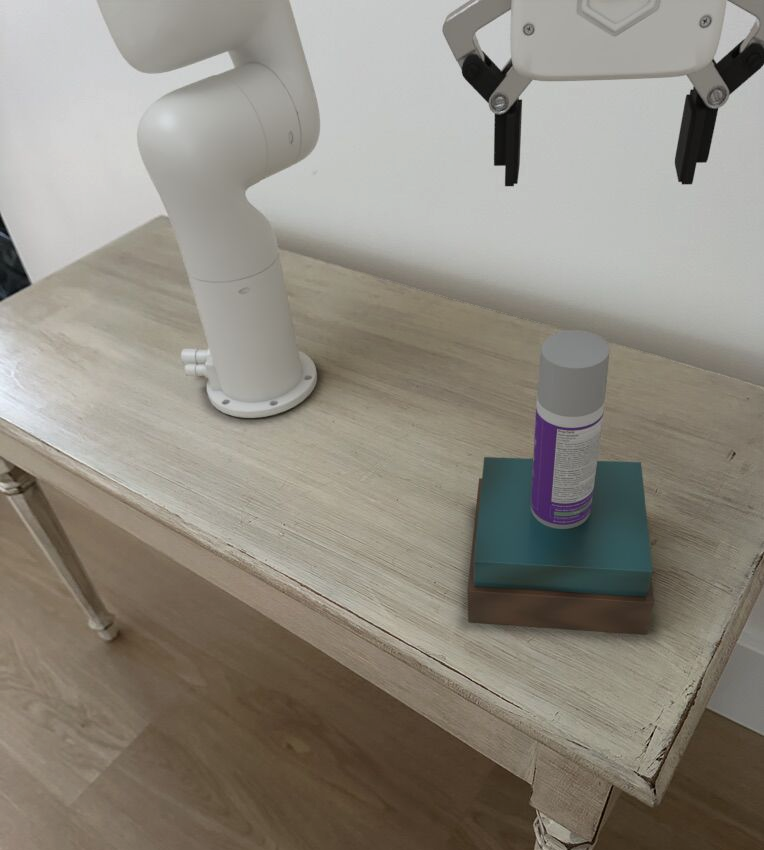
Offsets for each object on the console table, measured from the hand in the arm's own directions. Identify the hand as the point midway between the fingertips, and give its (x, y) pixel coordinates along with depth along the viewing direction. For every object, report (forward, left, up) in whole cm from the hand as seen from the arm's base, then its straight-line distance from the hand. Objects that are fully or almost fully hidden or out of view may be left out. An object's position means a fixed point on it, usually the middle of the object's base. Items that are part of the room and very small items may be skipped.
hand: (595, 175), depth 46 cm
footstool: (0, -2, -33) cm, 33 cm away
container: (0, -2, -26) cm, 26 cm away
